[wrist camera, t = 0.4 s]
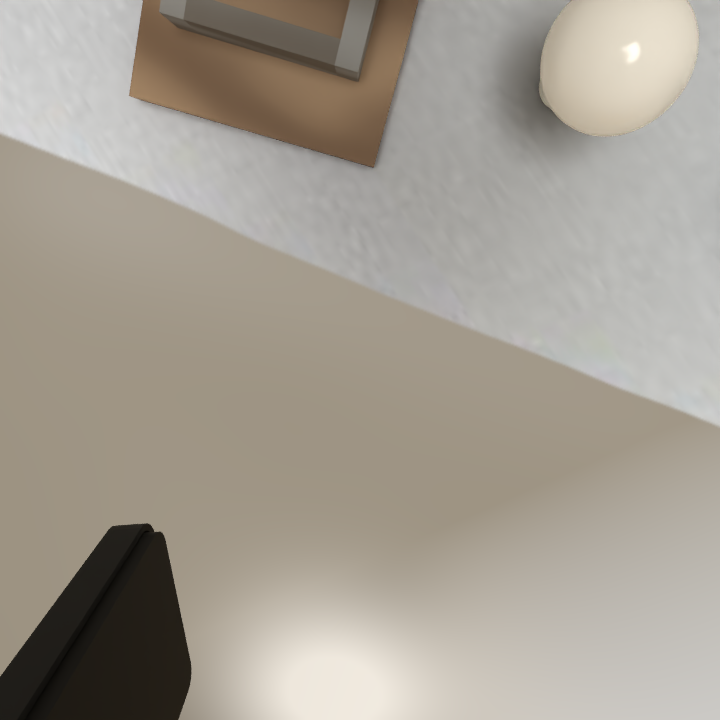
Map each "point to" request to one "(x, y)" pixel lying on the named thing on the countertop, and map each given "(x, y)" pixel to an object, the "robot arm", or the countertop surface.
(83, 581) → the robot arm
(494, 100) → the countertop surface
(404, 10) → the lamp socket
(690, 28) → the lightbulb
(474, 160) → the countertop surface
